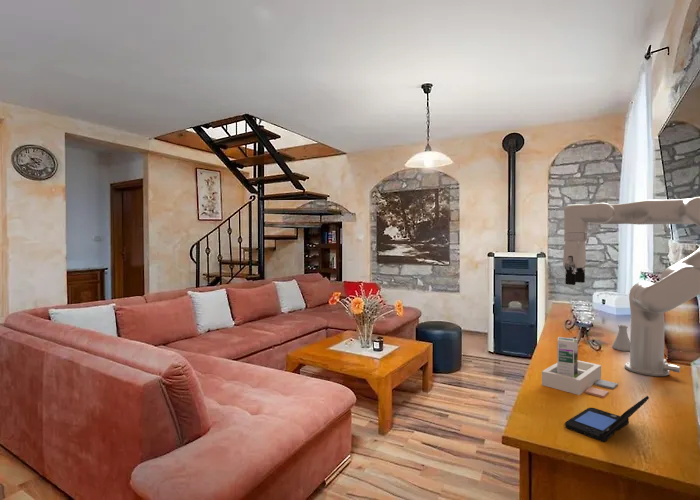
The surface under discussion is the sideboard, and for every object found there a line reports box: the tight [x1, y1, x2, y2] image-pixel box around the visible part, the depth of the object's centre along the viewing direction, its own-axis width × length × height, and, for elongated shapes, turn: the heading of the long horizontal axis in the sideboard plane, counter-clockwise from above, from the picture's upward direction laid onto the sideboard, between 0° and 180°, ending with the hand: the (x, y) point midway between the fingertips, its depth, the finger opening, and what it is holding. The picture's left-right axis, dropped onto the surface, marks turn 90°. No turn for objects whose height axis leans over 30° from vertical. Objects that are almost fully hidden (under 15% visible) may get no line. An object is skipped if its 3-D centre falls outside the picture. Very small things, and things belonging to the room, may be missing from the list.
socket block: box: [541, 359, 618, 399], centre depth 125 cm, size 16×20×4 cm
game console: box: [564, 395, 650, 443], centre depth 96 cm, size 16×14×9 cm
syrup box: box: [556, 336, 579, 378], centre depth 124 cm, size 6×6×14 cm
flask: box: [611, 324, 630, 352], centre depth 163 cm, size 7×7×10 cm
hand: (575, 283), depth 145 cm, fingers open, 9 cm apart
